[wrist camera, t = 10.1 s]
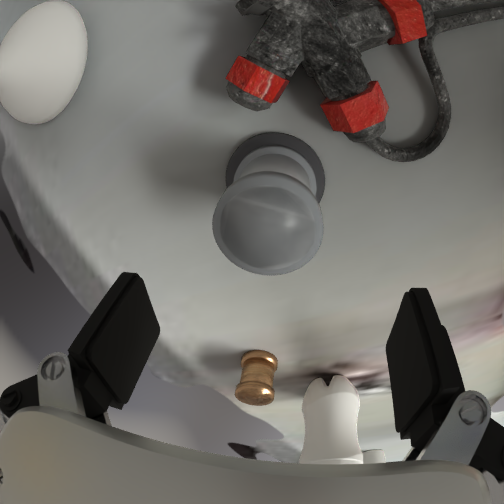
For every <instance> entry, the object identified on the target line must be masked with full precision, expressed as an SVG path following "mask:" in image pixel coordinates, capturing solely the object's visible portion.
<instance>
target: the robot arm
mask: <svg viewBox="0 0 504 504" xmlns="http://www.w3.org/2000/svg"><path fill="white" fill-rule="evenodd" d="M159 334H160V326H159V323H158V321H157V318H156V315H155V313H154V310H153V307H152V304H151V301H150V299H149V296H148V293H147V290H146V287H145V284H144V281H143V279H142V278H141V277H140V276H139V275H138V274H137V273H129V272H123V273H122V274H121V275H120V276H119V277H118V279H117V280H116V281H115V283H114V284H113V285H112V287H111V288H110V289H109V291H108V292H107V294H106V295H105V296H104V298H103V299H102V301H101V302H100V303H99V305H98V306H97V308H96V309H95V310H94V312H93V313H92V315H91V316H90V318H89V319H88V321H87V322H86V324H85V325H84V327H83V328H82V330H81V331H80V333H79V334H78V335H77V337H76V338H75V340H74V341H73V343H72V345H71V346H70V348H69V349H68V351H69V355H68V356H66V355H65V354H63V353H58V352H56V353H52V354H50V355H48V356H46V357H45V358H44V359H43V360H42V361H41V363H40V365H39V367H38V372H37V375H35V376H32V377H30V378H28V379H25V380H23V381H21V382H18V383H16V384H14V385H11V386H10V387H8V388H7V389H5V390H4V391H3V393H2V395H1V397H0V504H504V427H503V426H501V425H500V424H499V423H497V422H496V421H494V420H493V419H492V418H490V417H491V407H490V404H489V401H488V400H487V399H486V397H485V396H484V395H482V394H481V393H479V392H477V391H471V390H469V391H465V388H464V384H463V381H462V377H461V374H460V370H459V367H458V363H457V360H456V357H455V354H454V351H453V348H452V345H451V342H450V339H449V336H448V333H447V330H446V328H445V327H444V326H443V325H441V323H440V320H439V317H438V315H437V312H436V309H435V307H434V304H433V302H432V299H431V296H430V294H429V291H428V290H427V289H426V288H411V289H410V290H409V292H405V294H404V296H403V299H402V302H401V305H400V308H399V311H398V314H397V317H396V320H395V322H394V325H393V328H392V330H391V333H390V336H389V338H388V341H387V344H386V355H387V362H388V368H389V375H390V383H391V390H392V398H393V407H394V417H395V428H396V431H397V432H398V433H399V432H400V437H401V440H402V439H411V446H412V448H411V450H410V451H409V452H408V454H407V455H406V457H405V458H404V459H403V461H398V462H386V463H370V464H298V463H283V462H271V461H261V460H253V459H245V458H238V457H231V456H225V455H219V454H213V453H208V452H202V451H198V450H193V449H188V448H184V447H180V446H176V445H172V444H168V443H164V442H160V441H157V440H153V439H150V438H146V437H143V436H139V435H136V434H133V433H130V432H127V431H124V430H121V429H118V428H115V427H112V426H111V422H110V419H109V416H108V413H107V409H108V406H111V407H114V408H118V409H121V410H122V407H123V405H124V404H126V403H127V402H128V401H129V399H130V397H131V395H132V392H133V390H134V388H135V385H136V383H137V381H138V379H139V377H140V375H141V372H142V370H143V368H144V366H145V364H146V362H147V360H148V358H149V355H150V353H151V351H152V349H153V347H154V345H155V343H156V341H157V339H158V337H159Z"/></svg>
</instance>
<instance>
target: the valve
mask: <svg viewBox="0 0 504 504" xmlns="http://www.w3.org/2000/svg"><path fill="white" fill-rule="evenodd" d="M491 1H500V0H351V1H349V2H346V3H343V4H341V5H338V6H335V7H333V5H332V3H331V2H330V0H240V1H239V2H238V3H237V5H236V8H237V9H238V10H239V12H240V13H241V15H242V16H244V15H249V14H255V15H264V14H266V15H267V16H268V18H267V20H266V21H265V23H264V24H263V26H262V27H261V29H260V30H259V32H258V34H257V35H256V37H255V38H254V40H253V42H252V43H251V45H250V47H249V48H248V50H247V51H246V54H248V55H247V57H246V58H245V57H242V56H238V57H237V59H236V61H235V63H234V64H233V66H232V68H231V69H230V71H229V73H228V75H227V77H226V78H225V79H227V80H228V81H229V83H228V85H227V87H226V88H227V91H228V93H229V96H230V98H231V99H232V100H233V101H235V102H236V103H238V104H240V105H242V106H244V107H246V108H248V109H251V110H253V111H260V110H264V109H268V108H270V106H271V104H272V103H275V102H277V101H278V99H279V97H280V96H281V94H282V93H283V91H284V89H285V88H286V86H287V85H288V83H289V82H290V81H289V80H287V79H285V77H286V75H289V76H290V77H291V76H292V75H293V73H294V72H295V70H296V68H297V67H298V65H299V64H300V62H301V64H302V65H303V67H304V68H305V70H306V72H307V73H308V75H309V77H314V78H315V80H316V82H317V84H318V86H319V87H320V89H321V91H322V93H323V95H324V96H326V98H325V100H324V101H323V102H322V103H321V104H320V106H321V108H322V110H323V111H324V113H325V115H326V117H327V119H328V121H329V123H330V125H331V127H332V129H333V131H341V132H343V133H344V134H345V135H346V136H347V137H348V138H349V139H350V140H351V141H353V142H367V144H368V145H369V146H370V147H371V148H372V149H373V150H374V151H375V152H377V153H378V154H380V155H381V156H383V157H385V158H387V159H390V160H392V161H399V162H409V161H415V160H418V159H421V158H423V157H425V156H427V155H428V154H430V153H431V152H432V151H434V150H435V149H436V148H437V147H438V146H439V145H440V143H441V142H442V140H443V139H444V137H445V135H446V133H447V130H448V128H449V123H450V119H451V104H450V99H449V95H448V91H447V88H446V85H445V82H444V79H443V76H442V73H441V70H440V67H439V65H438V62H437V59H436V57H435V54H434V51H433V48H432V42H433V39H434V37H435V36H436V34H438V33H441V32H444V31H448V30H452V29H455V28H459V27H463V26H468V25H472V24H476V23H481V22H486V21H491V20H497V19H502V18H504V6H502V7H494V8H488V9H482V10H476V11H471V12H466V13H461V14H456V15H452V16H447V17H443V18H439V19H435V20H434V12H436V11H441V10H445V9H450V8H455V7H460V6H465V5H471V4H477V3H484V2H491ZM418 38H419V49H420V53H421V56H422V58H423V61H424V63H425V66H426V69H427V71H428V74H429V77H430V79H431V82H432V85H433V88H434V91H435V94H436V97H437V101H438V106H439V115H438V120H437V124H436V126H435V129H434V131H433V132H432V133H431V135H430V136H429V137H428V138H427V139H426V140H425V141H424V142H422V143H421V144H419V145H417V146H414V147H411V148H397V147H393V146H391V145H388V144H387V143H385V142H384V141H382V140H381V138H380V137H379V136H380V135H381V134H382V133H383V132H384V130H385V129H386V126H385V116H386V114H387V111H388V109H389V106H388V104H387V101H386V99H385V97H384V94H383V92H382V90H381V87H380V85H379V83H378V81H371V79H370V77H369V75H368V73H367V71H366V69H365V67H364V65H363V63H362V61H361V59H360V58H361V54H360V52H363V51H365V50H368V49H371V48H374V47H376V46H379V45H382V44H385V43H388V44H389V45H394V44H403V43H406V42H409V41H412V40H415V39H418Z"/></svg>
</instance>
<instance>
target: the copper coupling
mask: <svg viewBox="0 0 504 504" xmlns="http://www.w3.org/2000/svg"><path fill="white" fill-rule="evenodd" d="M277 363H278V360H277V358H276V357H275V356H274V355H273V354H271V353H269V352H267V351H263V350H252V351H248V352H246V353H245V354H244V355H243V356H242V360H241V367H242V368H243V369H242V374H241V379H240V383H239V384H238V385H237V386H236V391H235V396H236V398H237V399H238V400H239V401H241V402H243V403H246V404H249V405H257V406H260V405H267V404H269V403H271V402H272V401H273V400H274V394H275V391H274V389H273V388H272V386H273V377H274V372H275V371H276V370H277Z"/></svg>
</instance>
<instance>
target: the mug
mask: <svg viewBox="0 0 504 504" xmlns="http://www.w3.org/2000/svg"><path fill="white" fill-rule="evenodd" d="M362 454H363V464H370V463H386V461H385V452H384V451H383V450H370V451H365V452H362Z"/></svg>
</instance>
